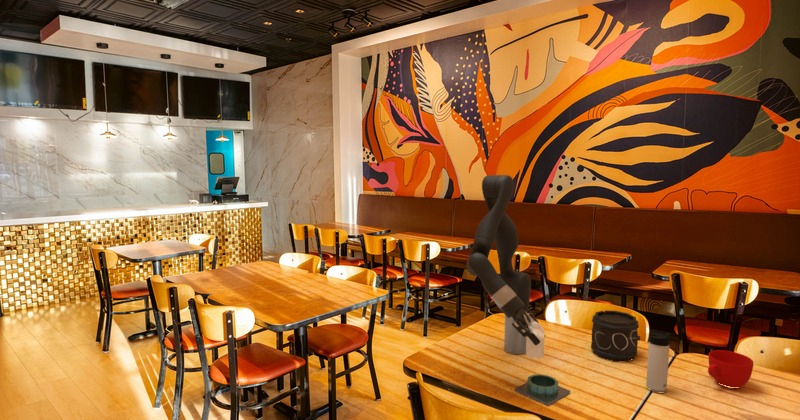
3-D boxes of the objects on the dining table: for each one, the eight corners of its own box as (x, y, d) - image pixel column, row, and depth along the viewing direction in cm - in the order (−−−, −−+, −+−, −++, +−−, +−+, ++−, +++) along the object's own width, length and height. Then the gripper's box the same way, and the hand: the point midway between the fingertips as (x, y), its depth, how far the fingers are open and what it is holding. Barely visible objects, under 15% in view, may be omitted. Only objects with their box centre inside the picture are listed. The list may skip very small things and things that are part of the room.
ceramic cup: (690, 382, 172) (692, 355, 171) (722, 373, 178) (724, 347, 177) (726, 398, 160) (729, 370, 159) (760, 389, 166) (762, 361, 165)
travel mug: (670, 394, 163) (673, 337, 161) (649, 392, 164) (652, 336, 162) (664, 386, 169) (667, 330, 167) (643, 384, 170) (646, 329, 168)
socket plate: (537, 379, 174) (537, 369, 174) (570, 393, 164) (570, 382, 164) (515, 391, 166) (515, 379, 165) (547, 406, 156) (548, 394, 155)
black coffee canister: (639, 366, 185) (642, 326, 183) (589, 358, 192) (591, 320, 190) (638, 349, 201) (640, 312, 199) (592, 342, 208) (593, 307, 207)
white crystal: (542, 318, 167) (547, 323, 161) (540, 351, 168) (546, 358, 162) (524, 318, 166) (529, 324, 161) (523, 351, 168) (528, 358, 162)
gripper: (508, 300, 161) (543, 342, 156) (521, 289, 173) (554, 328, 168) (492, 312, 164) (526, 354, 159) (507, 301, 176) (538, 339, 171)
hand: (540, 340), depth 163 cm, fingers closed on white crystal, 5 cm apart
